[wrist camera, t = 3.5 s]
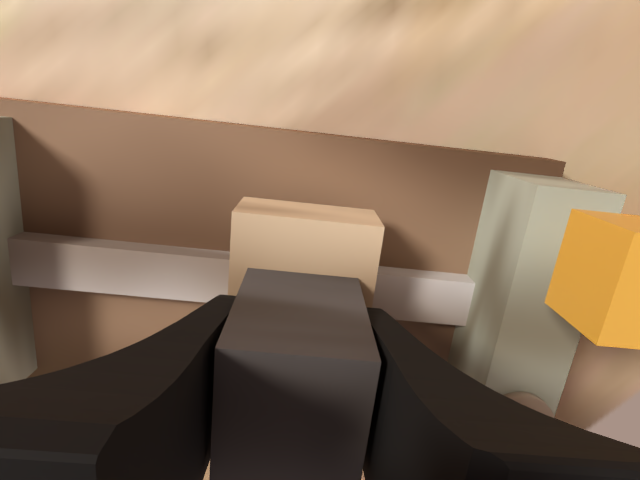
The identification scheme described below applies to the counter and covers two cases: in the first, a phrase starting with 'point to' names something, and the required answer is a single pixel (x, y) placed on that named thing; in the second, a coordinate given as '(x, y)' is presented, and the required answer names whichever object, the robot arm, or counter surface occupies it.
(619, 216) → the button
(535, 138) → the counter surface
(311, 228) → the carriage
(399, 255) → the rail board
